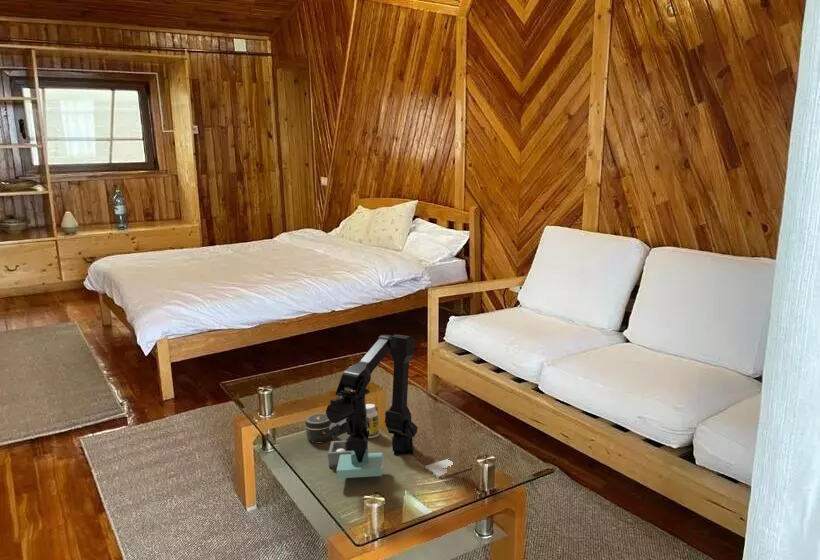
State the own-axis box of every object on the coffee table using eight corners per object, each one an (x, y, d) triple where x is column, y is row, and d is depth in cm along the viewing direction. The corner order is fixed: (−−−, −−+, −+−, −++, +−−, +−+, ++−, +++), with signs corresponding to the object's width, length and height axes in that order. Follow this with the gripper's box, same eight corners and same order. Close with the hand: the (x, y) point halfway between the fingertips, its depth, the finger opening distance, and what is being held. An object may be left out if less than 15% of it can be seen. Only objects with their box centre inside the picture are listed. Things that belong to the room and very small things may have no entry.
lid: (383, 459, 193) (382, 443, 192) (381, 475, 183) (380, 458, 182) (340, 462, 193) (339, 445, 192) (337, 478, 183) (335, 461, 182)
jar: (312, 446, 213) (310, 425, 212) (302, 436, 222) (300, 416, 221) (338, 439, 218) (337, 419, 217) (328, 429, 227) (326, 410, 225)
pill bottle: (376, 439, 216) (374, 409, 215) (359, 438, 218) (357, 409, 216) (381, 431, 222) (379, 402, 220) (364, 431, 224) (362, 402, 222)
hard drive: (458, 454, 199) (425, 464, 193) (472, 464, 192) (438, 475, 186) (458, 459, 199) (425, 469, 194) (472, 469, 192) (438, 480, 186)
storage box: (368, 453, 206) (367, 439, 205) (366, 465, 197) (365, 451, 196) (332, 455, 206) (331, 441, 205) (329, 467, 197) (328, 453, 196)
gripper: (333, 401, 194) (337, 447, 197) (326, 425, 176) (330, 475, 178) (368, 399, 194) (371, 445, 197) (364, 423, 176) (368, 473, 178)
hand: (360, 459), depth 187 cm, fingers closed on lid, 3 cm apart
